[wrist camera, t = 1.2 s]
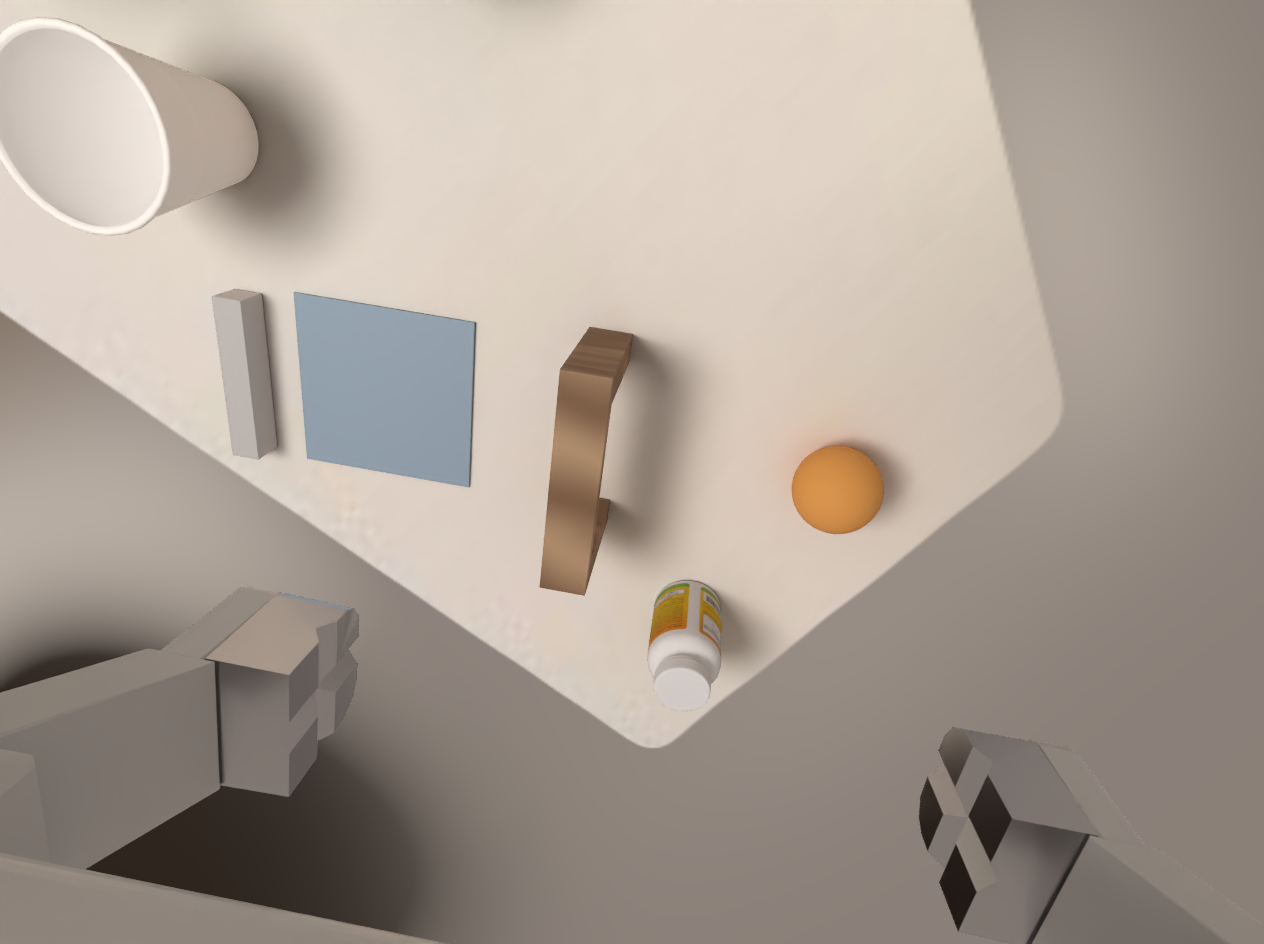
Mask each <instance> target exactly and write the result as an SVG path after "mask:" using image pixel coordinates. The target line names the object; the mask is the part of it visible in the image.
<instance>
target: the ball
mask: <svg viewBox="0 0 1264 944" xmlns="http://www.w3.org/2000/svg"><path fill="white" fill-rule="evenodd" d="M883 493H884V489H883V481H882V477H881V474H880V472H879V470H878V468H877V467H876V465H875V464H874V463H873V461H872V460H871V459H870V458H869V457H867V456H866V455H865V454H863V453H862V452H860V451H858V450H856V449H853V448H850V447H846V446H829V447H825V448H822V449H819V450H817V451H815V452H813V453H811V454H810V455H809V456H807V457H806V458H805V459H804V460H803V461H802V462H801V464H800V465H799V467H798V468H797V470H796V472H795V474H794V477H793V482H792V498H793V502H794V505H795V507H796V509H797V511H798V513H799V514H800V516H801V517H802V518H803V519H804V520H805V521H806V522H807V523H808V524H810V525H811V526H812V527H814V528H816V529H818V530H820V531H823V532H826V533H831V534H845V533H850V532H853V531H856V530H858V529H860V528H862V527H863V526H865V525H866V524H868V523H869V522H870V521H871V520H872V519H873V518H874V516H875V515H876V514H877V512H878V510H879V508H880V506H881V503H882V499H883Z"/></svg>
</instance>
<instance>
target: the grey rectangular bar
mask: <svg viewBox="0 0 1264 944" xmlns="http://www.w3.org/2000/svg"><path fill="white" fill-rule="evenodd" d="M212 302H213V310H214V317H215V325H216V332H217V340H218V347H219V354H220V362H221V369H222V377H223V384H224V392H225V399H226V407H227V414H228V421H229V429H230V436H231V444H232V451H233V455H236V456H241V457H247V458H253V459H258V460H259V459H260V458H261V457H263V456H264V455H266V454H267V453H269V452H270V451H271V450H273V449H274V448H276V447H277V437H276V427H275V417H274V407H273V398H272V388H271V378H270V368H269V358H268V349H267V339H266V329H265V319H264V309H263V300H262V293H256V292H250V291H244V290H238V289H233V290H230V291H227V292H224V293H220V294H217V295H214V296H212Z"/></svg>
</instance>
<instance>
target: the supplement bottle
mask: <svg viewBox="0 0 1264 944" xmlns="http://www.w3.org/2000/svg"><path fill="white" fill-rule="evenodd" d="M647 662H648V667H649V671H650V673H651V675H652V676H653V678H654V683H653V691H654V694H655V696H656V698H657V699H658V701H659V702H660V703H661V704H662V705H664V706H666V707H667V708H669V709H672V710H675V711H682V712H683V711H692V710H696V709H698V708H700V707H701V706H703V705H704V704H705V703H706V702H707V700H708V699H709V696H710V692H711V684H712V683H713V682H714V681H715V679H716V678H717V676H718V674H719V671H720V666H721V608H720V603H719V600H718V598H717V596H716V594H715V593H714V592H713V591H712V590H711V589H710V588H709V587H707V586H706V585H704V584H702V583H699V582H695V581H678V582H674V583H672V584H669V585H668V586H666V587H665V588H663V589H662V590H661V592H660V593H659V594H658V596H657V598H656V601H655V605H654V611H653V619H652V626H651V633H650V640H649V648H648V656H647Z"/></svg>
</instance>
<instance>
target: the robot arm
mask: <svg viewBox="0 0 1264 944" xmlns="http://www.w3.org/2000/svg"><path fill="white" fill-rule="evenodd" d="M358 636H359V615H358V613H357V612H356V610H355V609H354V608H351V607H346V606H342V605H337V604H333V603H328V602H323V601H319V600H314V599H310V598H305V597H301V596H296V595H291V594H287V593H285V594H282V593H281V592H277V591H272V590H267V589H262V588H257V587H252V586H247V587H241V588H239V589H237V590H236V591H235V592H233V593H232V594H231V595H230V596H228V597H227V598H226V599H225V600H223V601H222V602H221V603H220V604H218V605H217V606H216V607H215V608H213V609H212V610H211V611H210V612H209V613H207V614H206V615H205V616H204V617H202V618H201V619H200V620H198V621H197V622H196V623H195V624H193V625H192V626H191V627H189V628H188V629H187V630H186V631H184V632H183V633H182V634H181V635H180V636H178V637H177V638H176V639H175V640H173V641H172V642H171V643H170V644H168V645H167V646H166V647H164V648H163V649H162V650H161V651H158V650H152V649H145V650H142V651H139V652H135V653H132V654H129V655H125V656H122V657H119V658H115V659H112V660H109V661H105V662H102V663H99V664H95V665H92V666H89V667H86V668H82V669H79V670H75V671H72V672H69V673H66V674H62V675H59V676H55V677H52V678H49V679H46V680H42V681H39V682H35V683H32V684H29V685H25V686H22V687H19V688H15V689H12V690H9V691H5V692H2V693H0V944H446V943H441V942H436V941H432V940H426V939H422V938H417V937H412V936H407V935H402V934H397V933H392V932H388V931H382V930H378V929H373V928H368V927H363V926H358V925H353V924H348V923H343V922H339V921H334V920H329V919H324V918H319V917H314V916H309V915H304V914H300V913H294V912H290V911H285V910H280V909H275V908H270V907H265V906H260V905H255V904H251V903H246V902H241V901H236V900H231V899H226V898H221V897H216V896H211V895H206V894H201V893H197V892H192V891H186V890H182V889H177V888H172V887H167V886H163V885H158V884H153V883H148V882H143V881H138V880H133V879H128V878H123V877H119V876H114V875H109V874H104V873H99V872H94V871H89V870H84V869H86V868H88V867H89V866H91V865H93V864H94V863H96V862H98V861H99V860H101V859H103V858H105V857H106V856H108V855H110V854H111V853H113V852H115V851H116V850H118V849H120V848H121V847H123V846H124V845H126V844H128V843H130V842H131V841H133V840H135V839H136V838H138V837H140V836H141V835H143V834H145V833H146V832H148V831H150V830H151V829H153V828H155V827H157V826H158V825H160V824H162V823H163V822H165V821H167V820H168V819H170V818H172V817H173V816H175V815H177V814H179V813H180V812H182V811H184V810H185V809H187V808H189V807H190V806H192V805H194V804H195V803H197V802H199V801H200V800H202V799H204V798H205V797H207V796H209V795H210V794H212V793H214V792H215V791H217V790H219V789H220V785H223V786H229V787H235V788H241V789H246V790H252V791H258V792H264V793H270V794H277V795H282V796H290V794H291V793H292V792H293V790H294V789H295V787H296V786H297V784H298V783H299V782H300V780H301V779H302V777H303V776H304V774H305V773H306V772H307V770H308V769H309V768H310V766H311V764H312V763H313V762H314V761H315V759H316V758H317V741H318V740H320V739H322V738H324V737H326V736H328V735H330V734H332V733H334V732H335V730H336V729H337V728H338V726H339V725H340V723H341V722H342V720H343V719H344V717H345V715H346V712H347V710H348V708H349V705H350V703H351V700H352V698H353V695H354V690H355V685H356V680H357V667H358V663H357V662H356V660H355V659H354V657H353V656H352V654H351V653H350V651H349V648H350V647H351V645H352V644H353V643H354V641H355V640H356V639H357V638H358ZM938 751H939V753H940V756H941V758H942V761H943V763H944V766H943V767H941V768H940V769H938V770H937V771H935V772H934V773H932V774H931V775H929V776H928V777H927V779H926V782H925V785H924V788H923V790H922V793H921V796H920V808H919V822H920V828H921V834H922V837H923V840H924V843H925V845H926V848H927V851H928V852H929V853H930V854H931V855H932V856H933V857H934V858H935V859H936V860H937V861H938V862H939V863H940V864H941V865H942V866H943V867H944V868H945V870H944V872H943V874H942V877H941V879H940V881H939V883H940V886H941V889H942V891H943V894H944V896H945V899H946V902H947V904H948V907H949V909H950V912H951V915H952V917H953V920H954V922H955V925H956V928H957V930H958V932H961V933H966V934H970V935H974V936H978V937H983V938H987V939H992V940H996V941H1000V942H1004V943H1009V944H1264V925H1263V924H1262V923H1260V922H1259V921H1257V920H1256V919H1255V918H1253V917H1252V916H1251V915H1249V914H1248V913H1246V912H1245V911H1244V910H1242V909H1241V908H1239V907H1238V906H1237V905H1235V904H1234V903H1233V902H1231V901H1230V900H1228V899H1227V898H1226V897H1224V896H1223V895H1222V894H1220V893H1219V892H1217V891H1216V890H1215V889H1213V888H1212V887H1210V886H1209V885H1208V884H1206V883H1205V882H1204V881H1202V880H1201V879H1199V878H1198V877H1197V876H1195V875H1194V874H1192V873H1191V872H1190V871H1188V870H1187V869H1185V868H1184V867H1183V866H1181V865H1180V864H1179V863H1177V862H1176V861H1174V860H1173V859H1172V858H1170V857H1169V856H1168V855H1166V854H1164V853H1163V852H1162V851H1161V850H1159V849H1154V848H1149V847H1146V845H1145V844H1144V843H1143V842H1142V840H1141V839H1140V837H1139V836H1138V835H1137V833H1136V832H1135V831H1134V829H1133V828H1132V826H1131V825H1130V824H1129V822H1128V821H1127V820H1126V818H1125V817H1124V816H1123V814H1122V813H1121V811H1120V810H1119V809H1118V808H1117V806H1116V805H1115V803H1114V802H1113V801H1112V799H1111V798H1110V796H1109V795H1108V794H1107V793H1106V791H1105V790H1104V788H1103V787H1102V786H1101V784H1100V783H1099V782H1098V780H1097V779H1096V777H1095V776H1094V775H1093V773H1092V772H1091V771H1090V770H1089V768H1088V767H1087V765H1086V764H1085V763H1084V761H1083V760H1082V758H1081V757H1080V756H1079V754H1078V753H1076V752H1075V751H1073V750H1072V749H1070V748H1069V747H1067V746H1062V745H1056V744H1050V743H1044V742H1038V741H1032V740H1028V741H1026V740H1021V739H1015V738H1010V737H1005V736H999V735H994V734H988V733H983V732H977V731H972V730H966V729H961V728H956V727H952V728H951V729H950V730H949V732H948V733H947V734H946V735H945V736H944V738H943V741H942V743H941V745H940V748H939V750H938Z"/></svg>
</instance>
